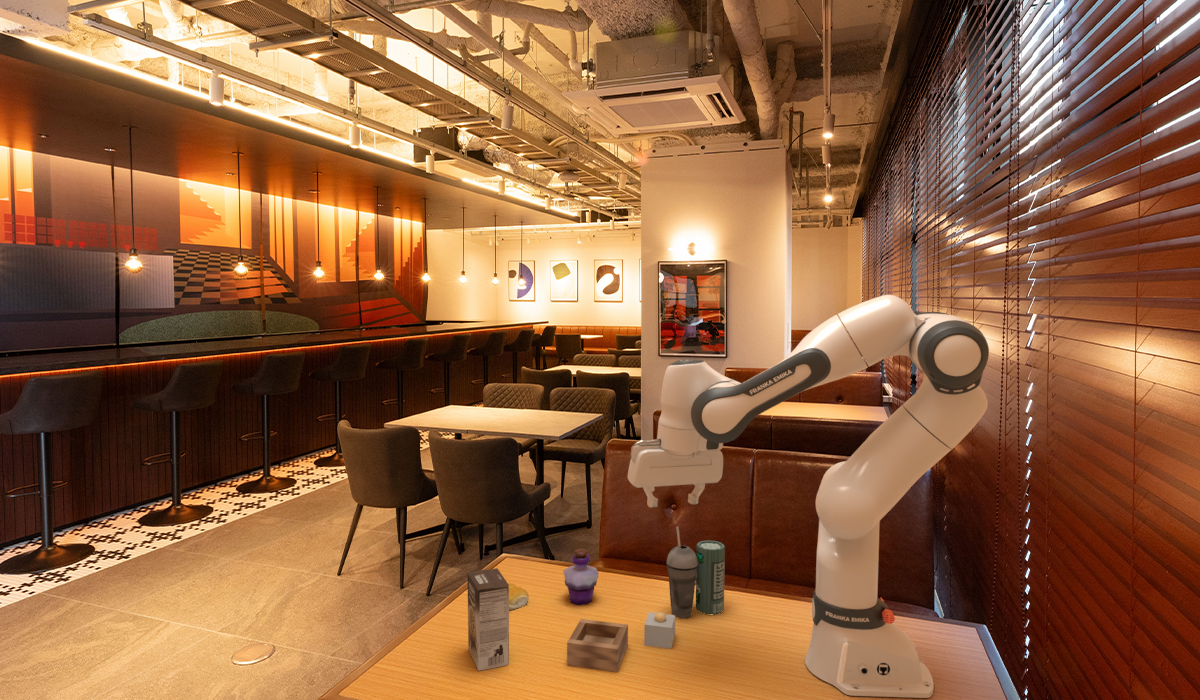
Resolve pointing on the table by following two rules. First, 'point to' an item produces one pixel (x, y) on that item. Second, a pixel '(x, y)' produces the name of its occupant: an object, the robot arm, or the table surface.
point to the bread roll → (517, 597)
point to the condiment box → (597, 645)
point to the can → (710, 577)
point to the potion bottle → (580, 578)
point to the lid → (659, 630)
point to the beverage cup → (682, 578)
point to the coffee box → (488, 618)
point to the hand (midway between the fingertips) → (672, 504)
